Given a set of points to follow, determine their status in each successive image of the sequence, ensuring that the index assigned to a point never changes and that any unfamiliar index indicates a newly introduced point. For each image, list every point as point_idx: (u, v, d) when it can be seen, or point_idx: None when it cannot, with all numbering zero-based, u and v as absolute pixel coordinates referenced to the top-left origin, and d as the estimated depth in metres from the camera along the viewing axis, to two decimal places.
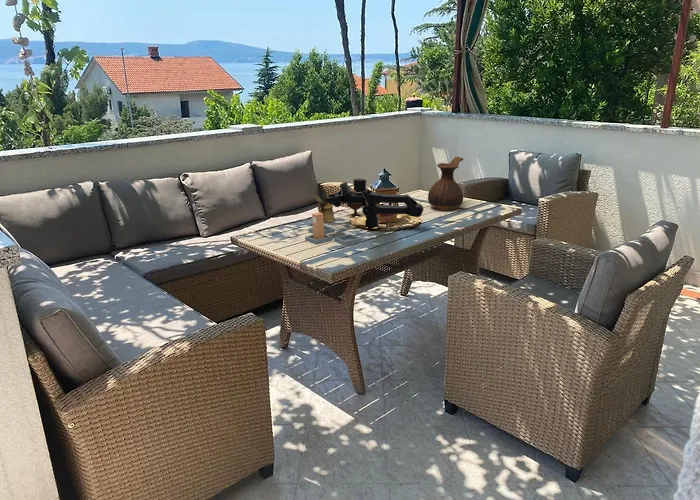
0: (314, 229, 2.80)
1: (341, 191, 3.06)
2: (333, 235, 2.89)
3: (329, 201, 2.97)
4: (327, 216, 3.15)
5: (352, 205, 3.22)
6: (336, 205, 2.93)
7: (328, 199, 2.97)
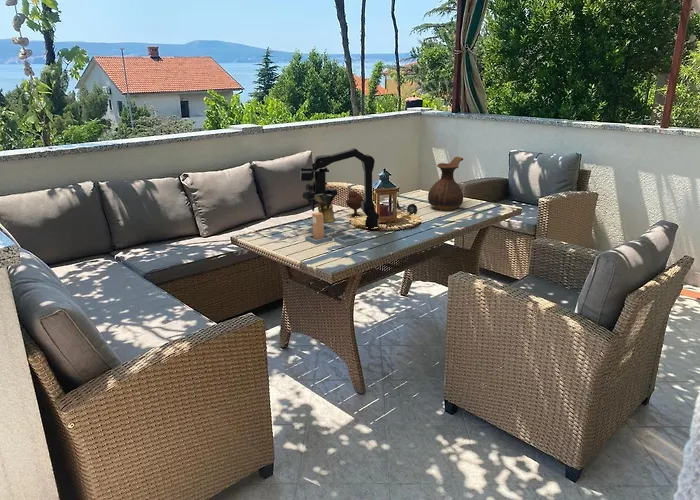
0: (314, 229, 2.80)
1: None
2: (333, 235, 2.89)
3: (311, 205, 2.88)
4: (327, 216, 3.15)
5: (352, 205, 3.22)
6: (307, 197, 2.84)
7: (311, 205, 2.89)
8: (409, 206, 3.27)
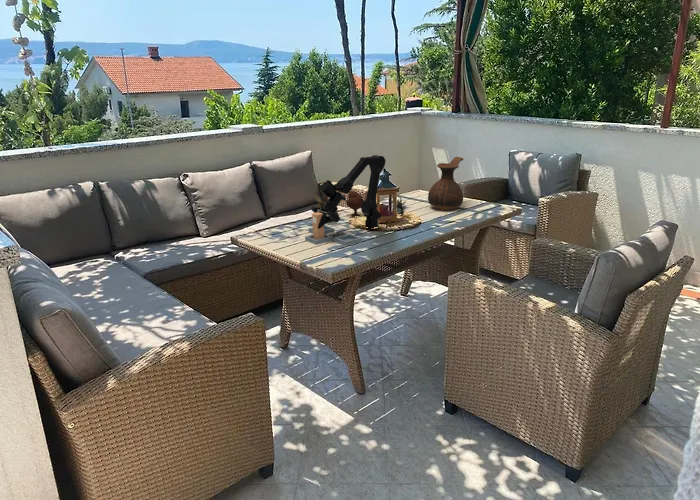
0: (314, 229, 2.80)
1: None
2: (333, 235, 2.89)
3: None
4: None
5: (352, 205, 3.22)
6: None
7: None
8: None
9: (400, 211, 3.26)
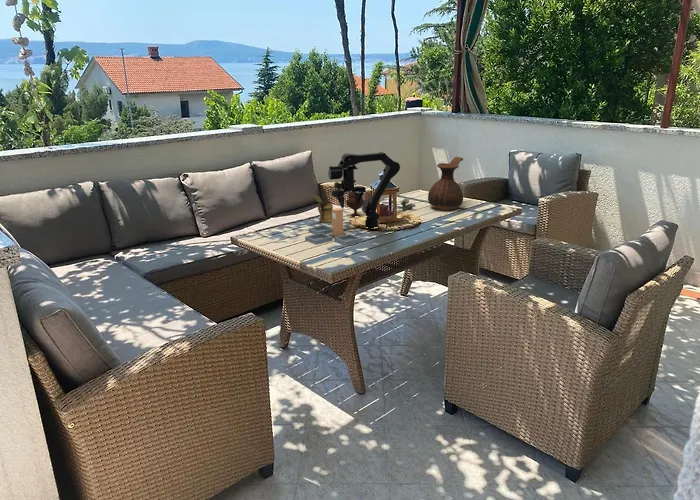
0: (333, 224, 2.86)
1: None
2: None
3: (341, 203, 2.90)
4: (327, 216, 3.15)
5: (352, 205, 3.22)
6: (336, 195, 2.86)
7: (340, 203, 2.91)
8: None
9: None
